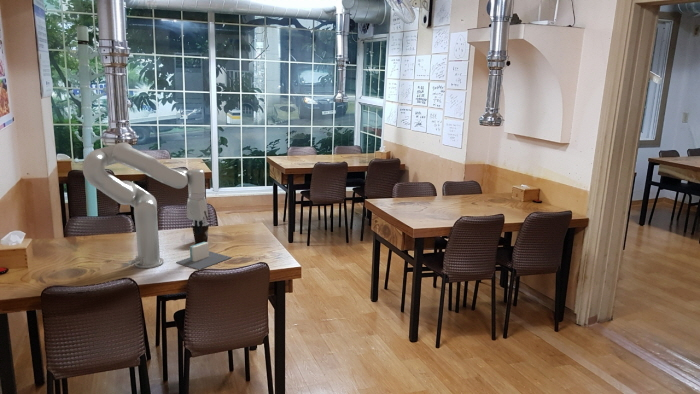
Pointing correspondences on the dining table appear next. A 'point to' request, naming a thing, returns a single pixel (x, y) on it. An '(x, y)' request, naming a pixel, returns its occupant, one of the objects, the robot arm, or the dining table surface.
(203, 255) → the card deck
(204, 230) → the coffee mug
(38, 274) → the dining table surface
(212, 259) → the mat
